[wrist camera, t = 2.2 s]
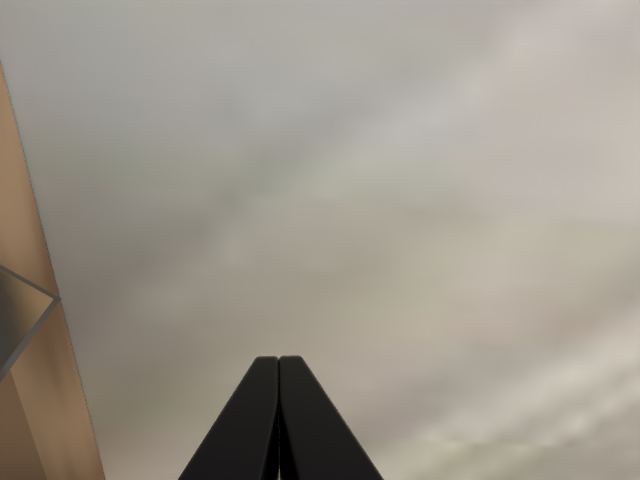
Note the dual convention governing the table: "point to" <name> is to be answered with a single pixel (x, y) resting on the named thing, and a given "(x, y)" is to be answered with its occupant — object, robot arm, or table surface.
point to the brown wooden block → (38, 344)
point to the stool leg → (20, 315)
